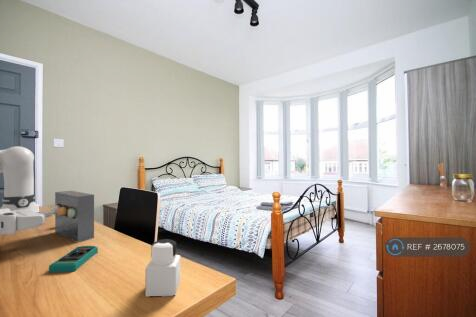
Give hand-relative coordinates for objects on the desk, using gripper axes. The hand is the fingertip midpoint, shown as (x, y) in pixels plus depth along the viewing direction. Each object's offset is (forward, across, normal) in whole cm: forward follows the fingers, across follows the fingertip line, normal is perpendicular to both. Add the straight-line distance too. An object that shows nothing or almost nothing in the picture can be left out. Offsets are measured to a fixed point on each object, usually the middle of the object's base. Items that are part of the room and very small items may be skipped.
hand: (50, 213), depth 93 cm
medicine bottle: (+2, +66, -11) cm, 67 cm away
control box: (+8, 0, -11) cm, 14 cm away
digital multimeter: (-3, +29, -12) cm, 32 cm away
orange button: (+4, 0, -2) cm, 5 cm away
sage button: (+5, +6, -2) cm, 8 cm away
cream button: (+4, -7, -2) cm, 8 cm away
